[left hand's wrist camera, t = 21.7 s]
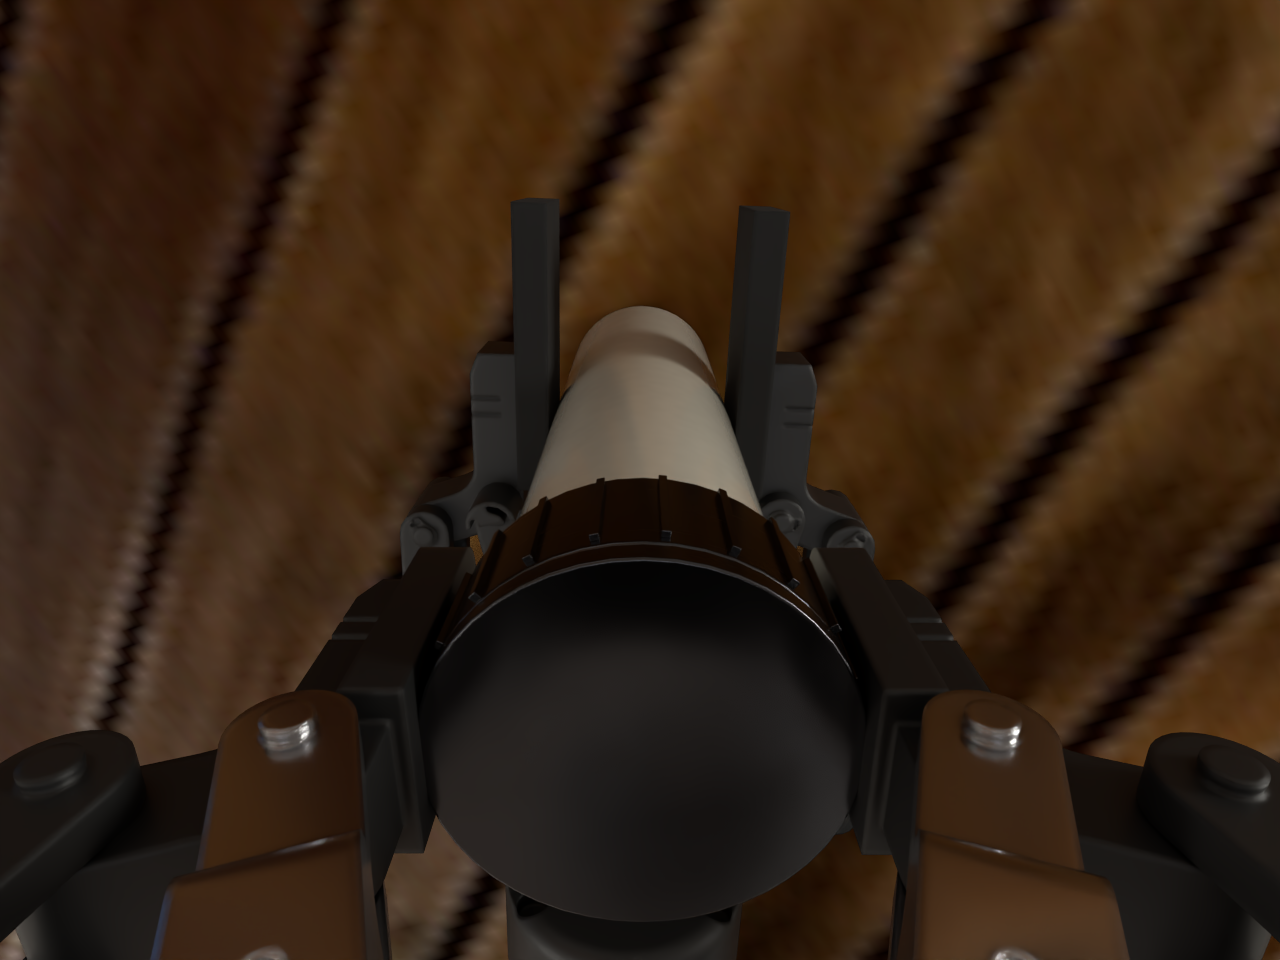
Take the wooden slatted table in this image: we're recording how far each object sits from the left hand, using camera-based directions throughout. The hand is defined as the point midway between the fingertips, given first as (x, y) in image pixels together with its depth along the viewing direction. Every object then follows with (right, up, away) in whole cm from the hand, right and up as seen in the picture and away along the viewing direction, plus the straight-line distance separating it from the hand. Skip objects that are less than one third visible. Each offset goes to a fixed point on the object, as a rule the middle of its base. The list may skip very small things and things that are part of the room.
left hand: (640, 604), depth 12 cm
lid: (0, -1, -3) cm, 3 cm away
